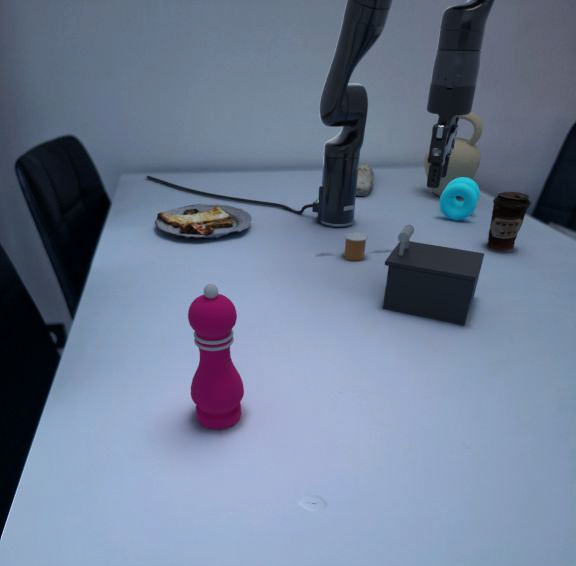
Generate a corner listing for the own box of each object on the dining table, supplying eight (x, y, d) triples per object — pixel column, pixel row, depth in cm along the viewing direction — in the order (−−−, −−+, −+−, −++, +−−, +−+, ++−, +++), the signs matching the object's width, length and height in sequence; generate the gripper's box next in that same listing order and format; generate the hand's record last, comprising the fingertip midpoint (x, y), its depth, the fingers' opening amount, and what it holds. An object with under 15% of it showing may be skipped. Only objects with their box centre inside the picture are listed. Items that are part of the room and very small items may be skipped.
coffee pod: (340, 258, 124) (341, 237, 121) (346, 251, 128) (348, 231, 125) (361, 262, 122) (363, 241, 120) (367, 255, 126) (370, 234, 123)
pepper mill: (194, 401, 78) (182, 272, 66) (244, 399, 78) (240, 272, 67) (191, 433, 72) (177, 298, 60) (245, 431, 72) (241, 297, 61)
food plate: (171, 249, 127) (169, 234, 125) (145, 220, 143) (143, 207, 141) (265, 234, 136) (265, 220, 134) (231, 209, 153) (230, 196, 151)
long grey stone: (342, 200, 167) (373, 203, 167) (344, 183, 164) (376, 186, 164) (344, 167, 195) (371, 170, 194) (346, 152, 191) (373, 155, 191)
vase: (478, 193, 173) (502, 88, 156) (463, 205, 161) (486, 93, 144) (429, 185, 180) (447, 84, 163) (411, 196, 169) (427, 88, 151)
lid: (384, 265, 99) (388, 237, 96) (400, 243, 108) (404, 217, 105) (475, 281, 93) (482, 252, 90) (483, 257, 103) (490, 230, 100)
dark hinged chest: (382, 308, 103) (388, 266, 98) (398, 284, 113) (404, 244, 108) (464, 325, 99) (475, 281, 93) (473, 298, 108) (483, 257, 103)
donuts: (435, 218, 150) (442, 182, 144) (441, 209, 158) (447, 174, 152) (472, 224, 147) (480, 186, 141) (475, 214, 155) (483, 178, 149)
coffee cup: (520, 256, 128) (535, 201, 121) (484, 252, 129) (497, 198, 122) (514, 243, 135) (529, 191, 128) (481, 240, 136) (493, 188, 129)
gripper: (437, 77, 96) (423, 171, 105) (423, 83, 85) (408, 188, 94) (480, 79, 94) (462, 175, 103) (471, 86, 83) (451, 193, 92)
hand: (436, 181), depth 98 cm, fingers open, 8 cm apart
